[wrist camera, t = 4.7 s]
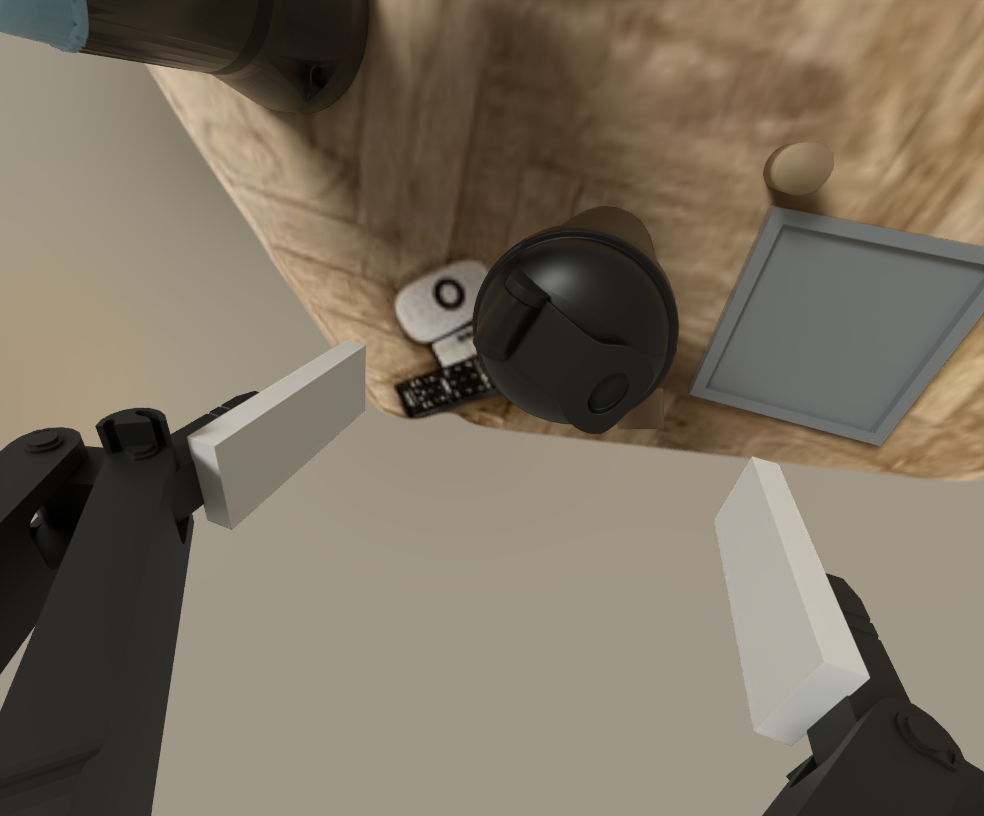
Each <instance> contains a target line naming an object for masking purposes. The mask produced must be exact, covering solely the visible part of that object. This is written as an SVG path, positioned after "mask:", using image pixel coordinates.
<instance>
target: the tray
mask: <svg viewBox="0 0 984 816" xmlns="http://www.w3.org/2000/svg"><path fill="white" fill-rule="evenodd" d="M983 313H984V246H978V245H973V244H968V243H963V242H958V241H953V240H948V239H942V238H937V237H932V236H927V235H922V234H917V233H912V232H906V231H901V230H896V229H891V228H886V227H881V226H876V225H871V224H865V223H860V222H855V221H850V220H845V219H840V218H835V217H829V216H824V215H819V214H814V213H809V212H804V211H799V210H793V209H788V208H783V207H778V206H773V205H771V206H770V208H769V210H768V212H767V214H766V217H765V219H764V221H763V223H762V226H761V228H760V230H759V232H758V234H757V237H756V239H755V241H754V243H753V246H752V248H751V250H750V252H749V255H748V257H747V259H746V261H745V263H744V266H743V268H742V270H741V272H740V275H739V277H738V279H737V281H736V283H735V286H734V288H733V290H732V292H731V295H730V297H729V299H728V301H727V303H726V306H725V308H724V310H723V312H722V315H721V317H720V319H719V321H718V323H717V326H716V328H715V330H714V332H713V335H712V337H711V339H710V341H709V343H708V346H707V348H706V350H705V352H704V355H703V357H702V359H701V361H700V363H699V366H698V368H697V370H696V372H695V375H694V377H693V379H692V381H691V383H690V386H689V388H688V390H689V395H692V396H696V397H700V398H703V399H707V400H711V401H714V402H718V403H722V404H726V405H729V406H733V407H737V408H740V409H744V410H748V411H752V412H755V413H759V414H763V415H766V416H770V417H774V418H777V419H781V420H785V421H789V422H792V423H796V424H800V425H803V426H807V427H811V428H815V429H818V430H822V431H826V432H829V433H833V434H837V435H841V436H844V437H848V438H852V439H855V440H859V441H863V442H867V443H870V444H874V445H878V446H881V445H882V443H883V442H884V441H885V439H886V438H887V437H888V436H889V434H890V433H891V432H892V430H893V429H894V428H895V427H896V425H897V424H898V423H899V421H900V420H901V419H902V418H903V416H904V415H905V414H906V412H907V411H908V410H909V409H910V407H911V406H912V405H913V403H914V402H915V401H916V399H917V398H918V397H919V396H920V394H921V393H922V392H923V390H924V389H925V388H926V387H927V385H928V384H929V383H930V381H931V380H932V379H933V378H934V376H935V375H936V374H937V372H938V371H939V370H940V369H941V367H942V366H943V365H944V363H945V362H946V361H947V359H948V358H949V357H950V356H951V354H952V353H953V352H954V350H955V349H956V348H957V347H958V345H959V344H960V343H961V341H962V340H963V339H964V338H965V336H966V335H967V334H968V332H969V331H970V330H971V329H972V327H973V326H974V325H975V323H976V322H977V321H978V319H979V318H980V317H981V316H982V314H983Z"/></svg>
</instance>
